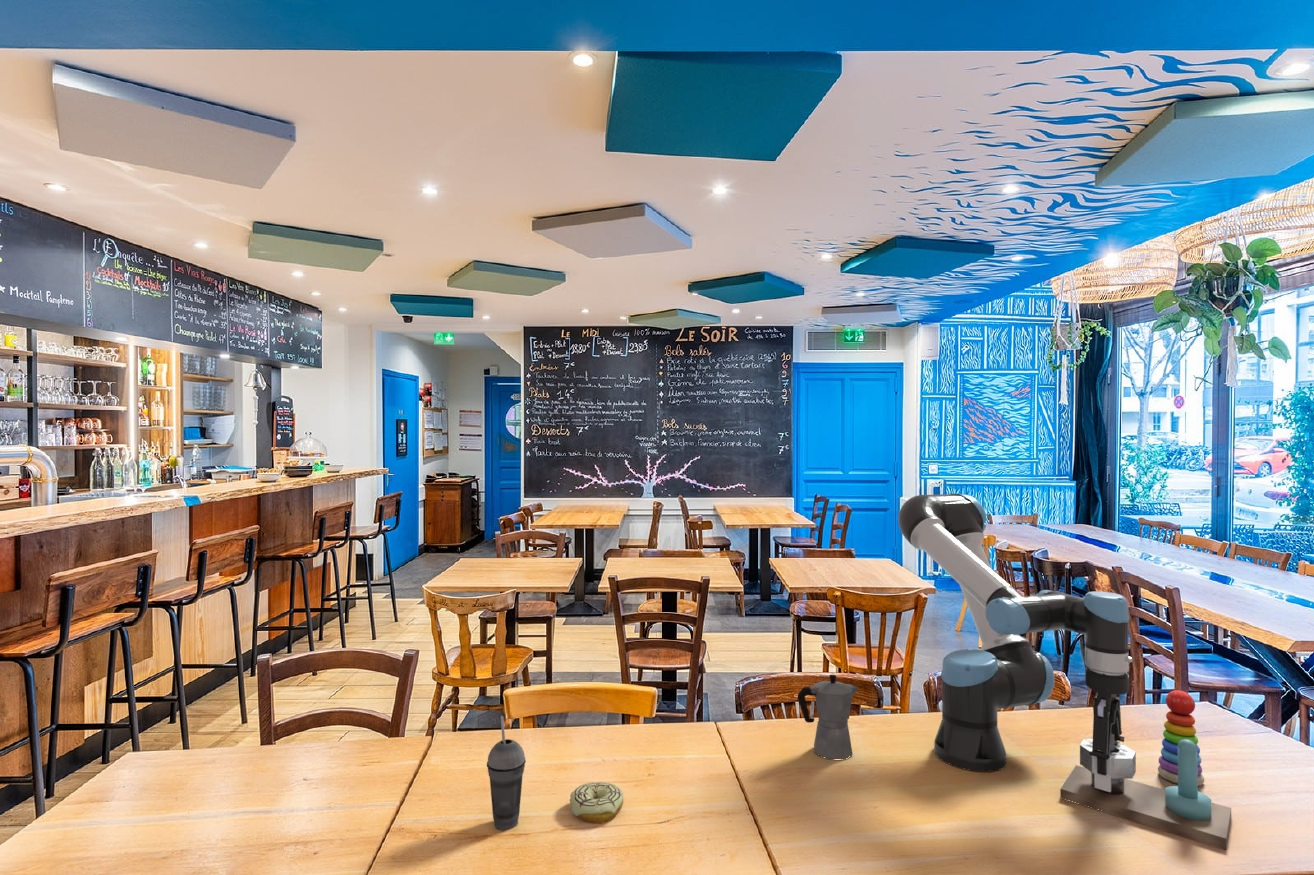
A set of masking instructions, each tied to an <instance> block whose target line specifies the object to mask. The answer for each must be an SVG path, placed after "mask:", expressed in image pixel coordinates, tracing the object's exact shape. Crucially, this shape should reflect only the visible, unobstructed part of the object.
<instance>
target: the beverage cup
mask: <svg viewBox="0 0 1314 875" xmlns="http://www.w3.org/2000/svg"><path fill="white" fill-rule="evenodd" d="M500 726H501V738H502V739H501V740H500V741H498V742H497V743H495V744H494V745H493V747H492V748H491V749H490V751H489V752H488V755H487V756H488V757H487V761H486V768H487V774H488V777H489V784H490V786H489V787H490V797H491V807H492V809H491V810H492V820H493V827H494V829H497V830H500V831H507V830H512V829H513V828H516V827H517V826H518V825H519V817H520V810H521V799H522V798H521V797H522V786H523V777H524V776H523V775H524V772H525V768H526V767H525V766H526V757H525V752H524V749H523V747H522V746H521V745H520V744H519V743H518V742H517V741H515V740H513V739H509V738H506V734H505V723H504V716H503V715H501V716H500Z"/></svg>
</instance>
